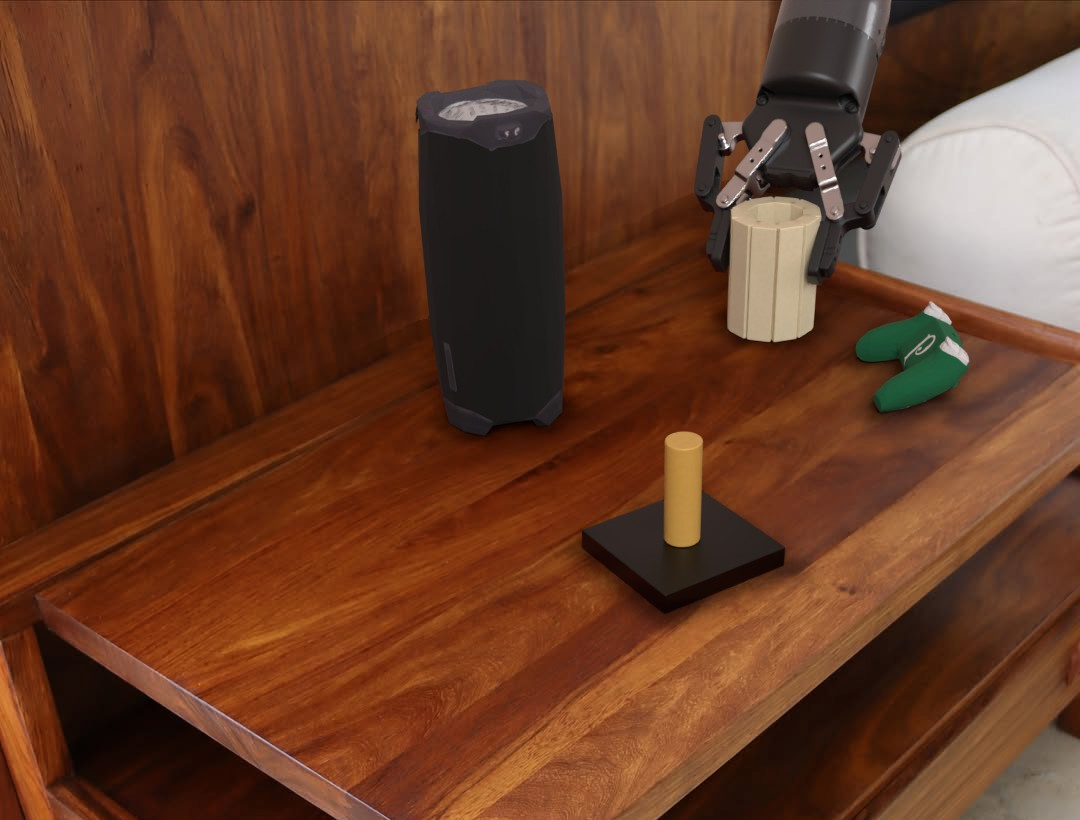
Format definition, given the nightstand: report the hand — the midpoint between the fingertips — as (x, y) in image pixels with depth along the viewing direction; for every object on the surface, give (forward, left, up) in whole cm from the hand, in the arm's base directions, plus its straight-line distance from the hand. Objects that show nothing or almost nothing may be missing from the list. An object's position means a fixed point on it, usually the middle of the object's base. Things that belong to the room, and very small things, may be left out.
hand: (766, 273), depth 100 cm
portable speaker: (+21, -1, -5) cm, 21 cm away
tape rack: (+22, +20, -4) cm, 30 cm away
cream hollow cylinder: (-1, -1, -4) cm, 5 cm away
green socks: (-3, +12, -5) cm, 13 cm away
